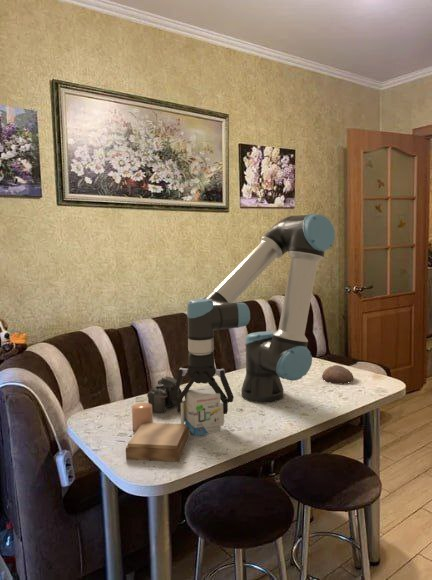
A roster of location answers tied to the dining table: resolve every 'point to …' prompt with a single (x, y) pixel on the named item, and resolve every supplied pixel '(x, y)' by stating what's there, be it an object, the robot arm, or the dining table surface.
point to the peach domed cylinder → (141, 414)
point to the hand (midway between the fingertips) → (202, 423)
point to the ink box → (202, 410)
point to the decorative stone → (337, 374)
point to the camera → (162, 394)
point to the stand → (158, 442)
